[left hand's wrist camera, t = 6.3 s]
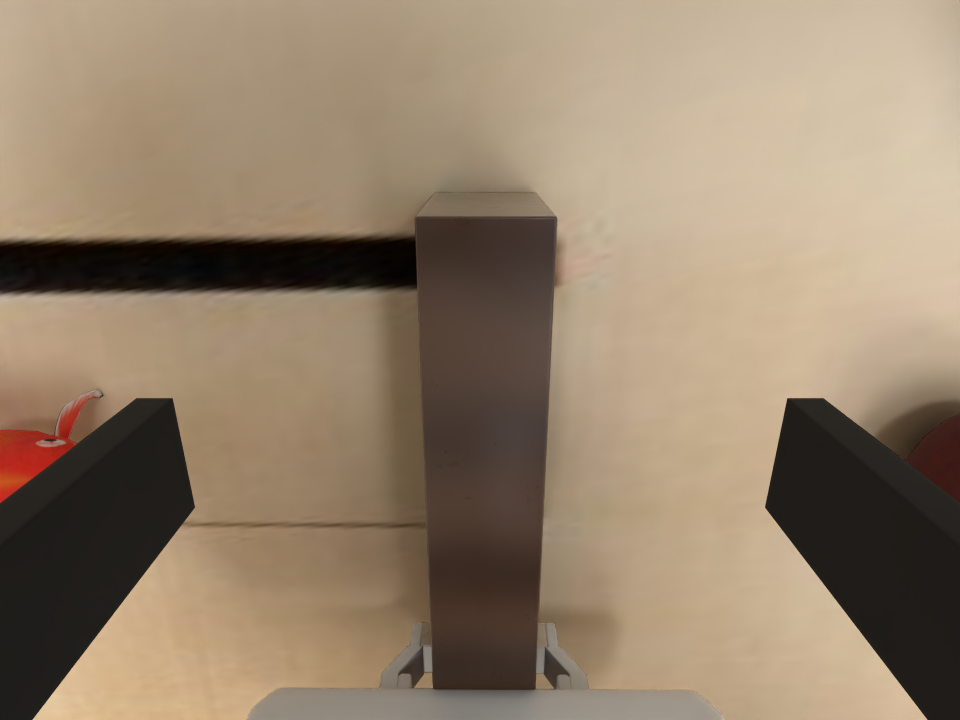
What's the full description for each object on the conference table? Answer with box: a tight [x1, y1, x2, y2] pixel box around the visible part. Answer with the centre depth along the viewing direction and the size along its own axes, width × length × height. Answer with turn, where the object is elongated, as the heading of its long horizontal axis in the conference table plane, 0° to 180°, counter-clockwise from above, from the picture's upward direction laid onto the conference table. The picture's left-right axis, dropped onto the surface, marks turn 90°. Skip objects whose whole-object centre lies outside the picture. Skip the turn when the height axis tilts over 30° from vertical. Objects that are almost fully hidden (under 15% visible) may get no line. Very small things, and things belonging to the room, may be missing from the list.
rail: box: [415, 192, 557, 690], centre depth 27 cm, size 26×4×8 cm, turn 0°
